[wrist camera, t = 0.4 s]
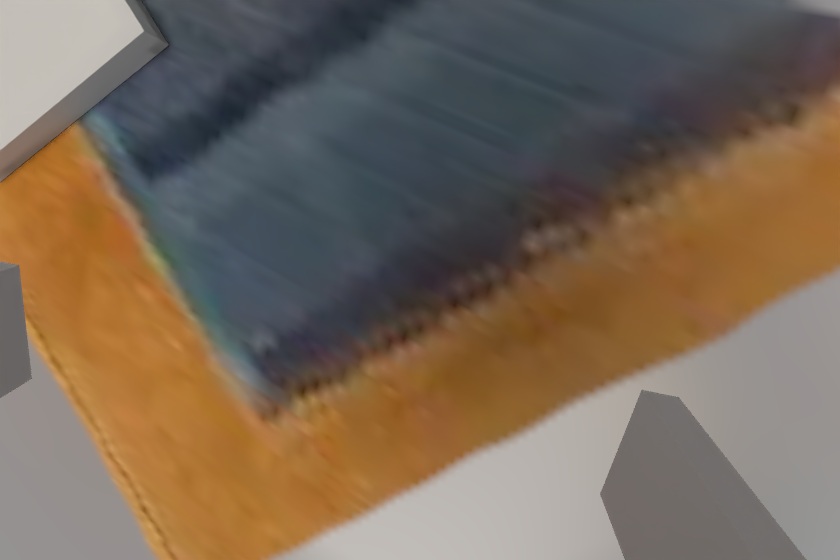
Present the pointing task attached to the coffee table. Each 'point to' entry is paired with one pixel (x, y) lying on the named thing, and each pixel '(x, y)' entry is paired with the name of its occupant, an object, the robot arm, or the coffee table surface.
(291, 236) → the coffee table surface
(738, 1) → the coffee table surface
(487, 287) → the coffee table surface
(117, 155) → the coffee table surface
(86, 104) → the tray
